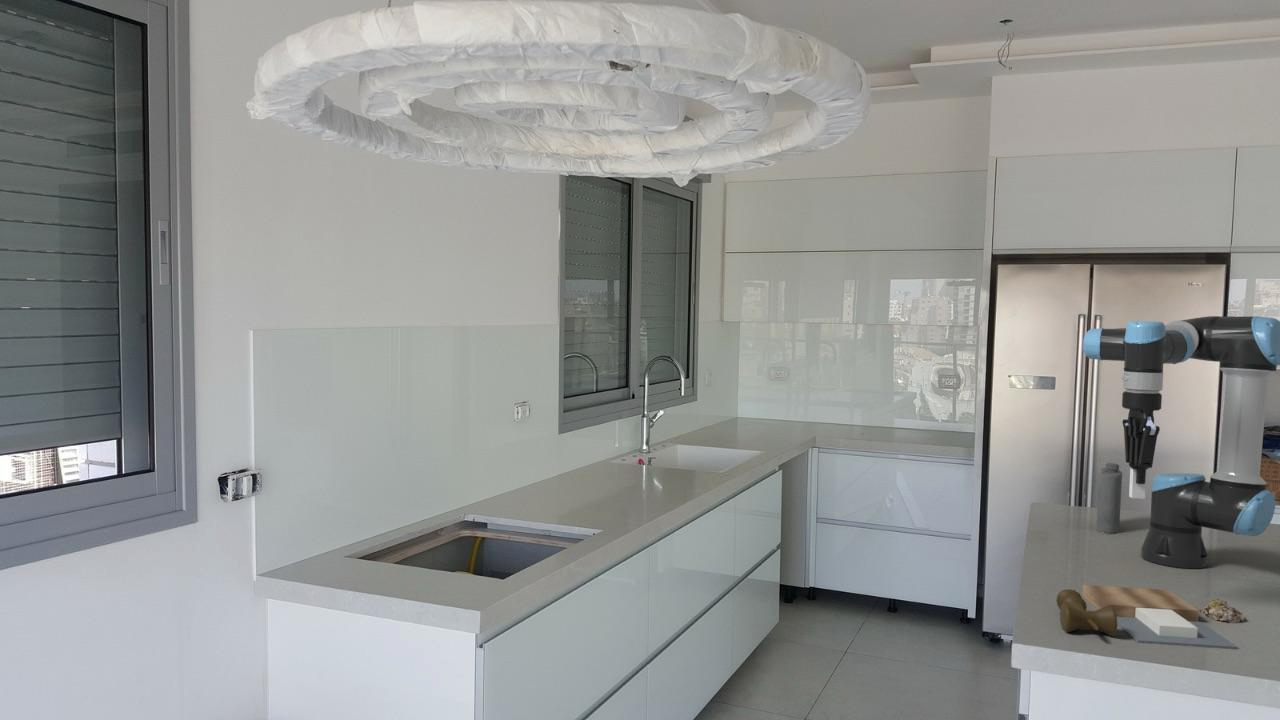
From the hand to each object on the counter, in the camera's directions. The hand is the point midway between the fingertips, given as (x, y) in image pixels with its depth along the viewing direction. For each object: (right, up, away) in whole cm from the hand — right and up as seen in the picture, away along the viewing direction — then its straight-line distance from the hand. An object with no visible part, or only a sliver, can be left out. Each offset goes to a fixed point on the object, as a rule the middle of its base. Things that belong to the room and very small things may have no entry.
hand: (1136, 497), depth 194 cm
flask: (+32, -21, +73) cm, 82 cm away
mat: (-3, -24, -18) cm, 30 cm away
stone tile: (-3, -24, -15) cm, 29 cm away
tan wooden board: (-1, -24, -3) cm, 24 cm away
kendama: (-20, -24, -15) cm, 35 cm away
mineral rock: (+15, -25, -6) cm, 30 cm away
